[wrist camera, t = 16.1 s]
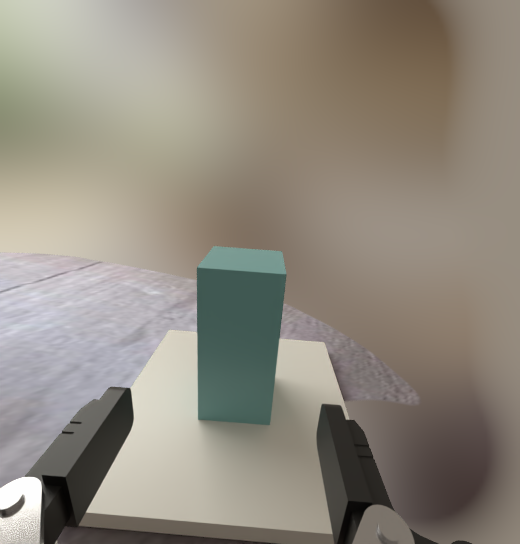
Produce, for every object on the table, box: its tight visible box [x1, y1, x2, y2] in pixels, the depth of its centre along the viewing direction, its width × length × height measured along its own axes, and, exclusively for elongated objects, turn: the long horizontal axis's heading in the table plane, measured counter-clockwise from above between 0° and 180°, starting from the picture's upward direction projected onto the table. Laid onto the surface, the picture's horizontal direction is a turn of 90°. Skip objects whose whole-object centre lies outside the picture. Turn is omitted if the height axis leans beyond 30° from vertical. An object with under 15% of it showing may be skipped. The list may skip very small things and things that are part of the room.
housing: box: [197, 246, 286, 425], centre depth 21 cm, size 5×5×12 cm
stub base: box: [79, 330, 350, 544], centre depth 22 cm, size 18×18×6 cm
